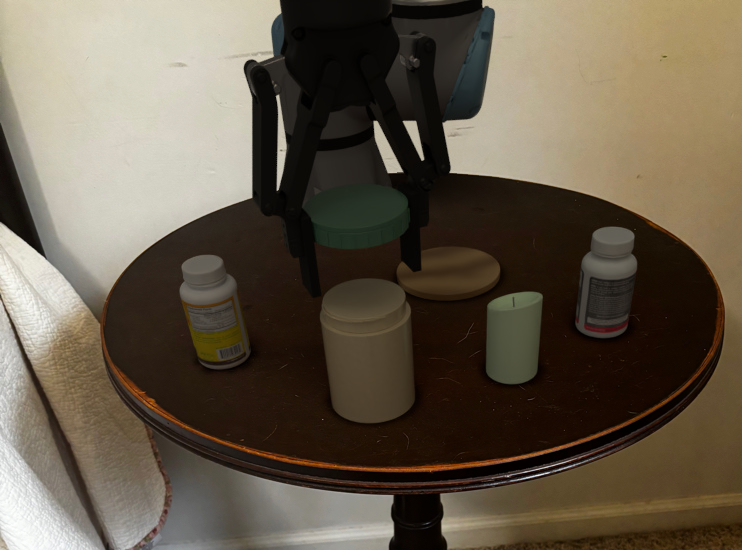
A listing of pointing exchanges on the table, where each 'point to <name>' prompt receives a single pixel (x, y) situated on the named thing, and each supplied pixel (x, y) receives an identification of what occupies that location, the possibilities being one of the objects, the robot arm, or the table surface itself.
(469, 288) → the coaster
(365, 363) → the jar
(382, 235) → the lid
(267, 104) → the robot arm
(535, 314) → the candle
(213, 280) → the supplement bottle
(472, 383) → the table surface
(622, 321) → the pill bottle
